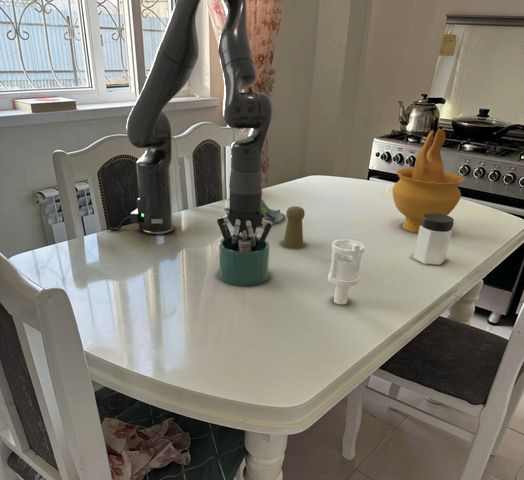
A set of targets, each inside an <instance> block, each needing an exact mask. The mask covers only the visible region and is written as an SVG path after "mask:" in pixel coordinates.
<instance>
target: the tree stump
mask: <svg viewBox="0 0 524 480" xmlns="http://www.w3.org/2000/svg"><path fill="white" fill-rule="evenodd" d="M223 210H224V214H226V215H228V213H229V210H230V209H229V207H226V208H225V207H224V208H223ZM261 213H262V216H263V218H264V219H265V220H267V221H272V222H273V225H276V224H279V223H280V222H282V221H283V220H284V216H283V213H281V210H280V209H276V210H275V209H271V208H270V207H268V206H267V204H266V202H265V201H264V200H263V199H262V204H261ZM259 226H262V223H260V224H259Z"/></svg>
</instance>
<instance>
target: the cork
mask: <svg viewBox="0 0 524 480" xmlns="http://www.w3.org/2000/svg"><path fill="white" fill-rule="evenodd" d="M305 214H306V213H305V210H304V208H303V207H301V206H295V205H293V206H289V207H288V208H287V210H286V219H287V221H286V227H285V231H284V237H283V242H282V246H283V247H285V248H288V249H300V248H303V247H304V234H303V233H304V232H303V231H304V230H303V219H304V218H305Z"/></svg>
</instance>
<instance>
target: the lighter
mask: <svg viewBox="0 0 524 480" xmlns="http://www.w3.org/2000/svg"><path fill="white" fill-rule="evenodd" d="M238 244H239V252H251V244H252V240H250V238H249V235H248V233H247V231H246V230H243V231H242V232H240V236H239V237H238Z"/></svg>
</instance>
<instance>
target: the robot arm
mask: <svg viewBox="0 0 524 480" xmlns="http://www.w3.org/2000/svg"><path fill="white" fill-rule="evenodd" d="M220 1H221V4H222V5H223V9H224V11H225V21H224V24H223V27H222V30H221V32H220V35H219V39H218V45H217V47H218V48H217V49H218V58H219V62H220V67H221V72H222V77H223V88H224V89H223V103H222V104H223V105H222V117H223V120H224V122H225V123H226V125H227V126H228V127H230V128H231V129H233V130H234V129H235V130H249V129H250V131H249V133H248V135H247V136H245V137H244V138H240V139H237V140H234V141H233V142H232V143H231V145H230V146H231V147H230V174H229V183H228V188H229V207H228V208H229V209H230V210H229V213H228V214H226V215H220V216H219V217H218V218H217V220H216V222H217V225H218V227H219V230H220V232H221V235H222V237H223V238H222V239H224V240H225V241H226V242H230V243H231V244H232V250H233V251H239V244H238V237H239V236H240V234H241V232H242V231H243V230H246V231H247V233H248V235H249V238H250V240H252V244H251V252H253V251H257V246H259V245H260V246H261V245H263V243H264V241H265V240H267V237H268V235H269V233H270V231H271V229H272V227H273V225H274V224H273V222H272V221H267V220H265V219H264V218H263V216H262V213H261V204H262V200H263V151H264V146H265V143H266V139H267V136H268V131H269V128H270V125H271V122H272V118H273V111H274V110H273V103H272V101H271V98H270V97H269V95H267V93H265V92H262V91H261V92H251V91H250V92H246V91H244V92H243V90H245V89H248V88H250V87H252V86H253V85H254V83H255V82H256V80H257V71H256V66H255V61H254V57H253V53H252V52H253V51H252V48H251V43H250V38H249V32H248V31H249V29H248V19H247V18H248V16H247V15H248V14H247V0H220ZM200 2H201V0H175V3H174V7H173V10H172V12H171V14H170V18H169V20H168V23H167V26H166V29H165V31H164V34H163V36H162V38H161V41H160V43H159V46H158V48H157V50H156V53H155V57H154V60H153V63H152V64H151V68H150V71H149V73H148V75H147V78H146V80H145V83H144V84H143V88H142V90H141V92H140V94H139V96H138V98H137V100H136V102H135V104H134V106H133V107H132V109H131V111H130V114H129V116H128V118H127V123H126V136H127V139H128V141H129V144H131V145H132V146H133V147H134V148H138V149H146V151H145V153H144V154H143V155H142V156H141V157H140V158H139V159H138V160H137V161H136V164H135V167H136V176H137V187H138V198H137V199H136V209H134V210H133V211H131V212H130V214H129V216H126V217H125V218H123V219H122V220H120V223H119V225H118V227H108V230H109V231H120V230H121V229H122V227H123V224H124V223H125V222H126V221H128V220H130V223H131V224H138V230H139V232H142V233H145V234H148V235H166V234H169V233H171V232H173V230H174V226H173V210H172V192H171V191H172V190H171V175H170V166H171V163H172V154H173V153H172V128H171V123H170V120H169V117H168V116H167V114H166V113H165V112H163V110H164V109H165V107H166V105H168V103H170V101H171V100H173V98H175V96H177V95H178V94H179V92H180V91H181V90H182V89H183V88H184V87H185V86H186V85H187V84H188V81H189V79H190V78H191V75H192V73H193V71H194V68H195V66H196V64H197V62H198V59H199V52H200V51H199V39H198V32H197V25H196V23H197V22H196V18H197V13H198V8H199V5H200ZM241 91H242V92H241ZM229 222H230V224H231V227H233V231H232V233H231V231H230V229H229V225H228V224H229ZM260 223H262V225H261V228H262V230H263V231H262V233H261V236H260V239H257V237H258V236H257V234H258V233H257V229H258V228H259V226H260V225H259V224H260Z"/></svg>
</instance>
